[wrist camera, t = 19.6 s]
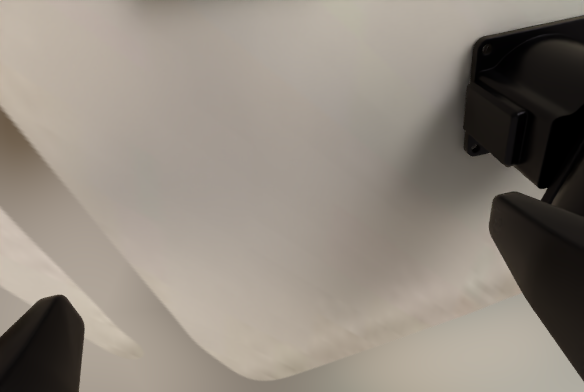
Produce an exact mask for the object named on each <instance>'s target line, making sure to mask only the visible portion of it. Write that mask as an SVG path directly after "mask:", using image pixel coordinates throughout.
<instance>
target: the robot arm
mask: <svg viewBox="0 0 584 392" xmlns="http://www.w3.org/2000/svg"><path fill="white" fill-rule="evenodd" d="M486 44H488V48H487V50H486V51H484V52H482V50H483V47H484V46H485V45H486ZM463 129H464V130H465V141H464V150H465V151H466V153H467V154H469V155H470V156H479V155H483V154H488V153H491V154H492V155H493V156H494V157H495V158H496V159H498V160H499V161H500V162H501V163H502V164H503V165H505V166H506V167H511V166H514V167H515V168H516V169H517V170H518V171H520V172H521V173H522V174H523V175H524V176H525V177H527V178H528V179H529V180H530V181H531V182H532V183H534V184H535V185H536V186H537V187H538V188H539V189H545V188H547V190H546V192H545V194H544V196H543V197H542V199H541V201H540V200H538V199H535V198H532V197H530V196H527V195H524V194H522V193H519V192H509V193H504V194H500V195H497V196H495V197H494V199H493V202H492V208H491V215H490V221H489V231H490V234H491V237H492V239H493V241H494V242H495V244H496V246H497V248H498V250H499V251H500V253H501V255H502V257H503V259H504V261H505V262H506V264H507V266H508V268H509V270H510V271H511V273H512V275H513V277H514V279H515V281H516V282H517V284H518V286H519V288H520V290H521V291H522V293H523V295H524V296H525V298H526V299H527V301H528V302H529V304H530V305H531V307H532V308H533V310H534V311H535V313H536V314H537V316H538V317H539V318H540V320H541V321H542V323H543V324H544V325H545V327H546V328H547V330H548V331H549V333H550V334H551V335H552V337H553V338H554V340H555V341H556V343H557V344H558V345H559V347H560V348H561V350H562V351H563V353H564V354H565V355H566V357H567V358H568V360H569V361H570V363H571V364H572V365H573V367H574V368H575V370H576V371H577V373H578V374H579V375H580V377H581V378H582V380H583V381H584V16H579V17H574V18H570V19H565V20H560V21H555V22H551V23H546V24H541V25H536V26H532V27H527V28H522V29H517V30H513V31H508V32H503V33H498V34H494V35H489V36H484V37H482V38H480V39H479V40H478V41H477V42H476V43H475V45H474V48H473V57H472V67H471V78H470V83H469V84H468V86H467V92H466V103H465V114H464V125H463ZM474 145H476V147H475V148H474V149H472V147H473V146H474ZM84 330H85V328H84V322H83V320H82V318H81V316H80V315H79V314H78V312H77V311H76V310H75V308H74V307H73V306H72V304H71V303H70V302H69V300H68V299H67V298H66V297H65V296H63V295H55V296H50V297H46V298H43V299H40V300H39V301H37V302H36V303H35V304H34V305H33V306H32V307H31V308H30V309H29V310H28V311H27V312H26V313H25V314H24V315H23V316H22V317H21V318H20V319H19V320H18V321H17V322H15V323H14V325H12V326H11V327H10V328H9V329H8V330H7V331H6V332H5V333H4V334H3V335H2V336H1V337H0V392H79V383H80V372H81V361H82V352H83V341H84Z"/></svg>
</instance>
